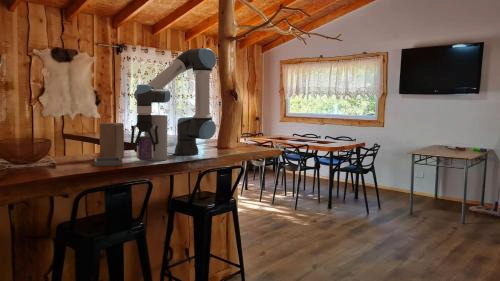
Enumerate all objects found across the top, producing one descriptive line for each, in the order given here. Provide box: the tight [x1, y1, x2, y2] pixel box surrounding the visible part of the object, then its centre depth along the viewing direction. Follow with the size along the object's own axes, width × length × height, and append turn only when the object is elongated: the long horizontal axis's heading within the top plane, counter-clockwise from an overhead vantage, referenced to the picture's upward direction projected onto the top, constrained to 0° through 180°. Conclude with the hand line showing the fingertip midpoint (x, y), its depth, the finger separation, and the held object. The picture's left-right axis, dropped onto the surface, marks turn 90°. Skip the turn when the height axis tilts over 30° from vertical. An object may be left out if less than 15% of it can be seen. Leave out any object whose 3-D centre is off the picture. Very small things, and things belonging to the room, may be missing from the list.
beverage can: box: [137, 136, 152, 161], centre depth 212 cm, size 7×7×12 cm
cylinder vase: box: [144, 114, 168, 162], centre depth 226 cm, size 12×12×25 cm
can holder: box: [93, 157, 123, 168], centre depth 207 cm, size 13×13×2 cm
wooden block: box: [99, 122, 125, 159], centre depth 227 cm, size 10×10×20 cm
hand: (144, 157), depth 212 cm, fingers closed on beverage can, 7 cm apart
